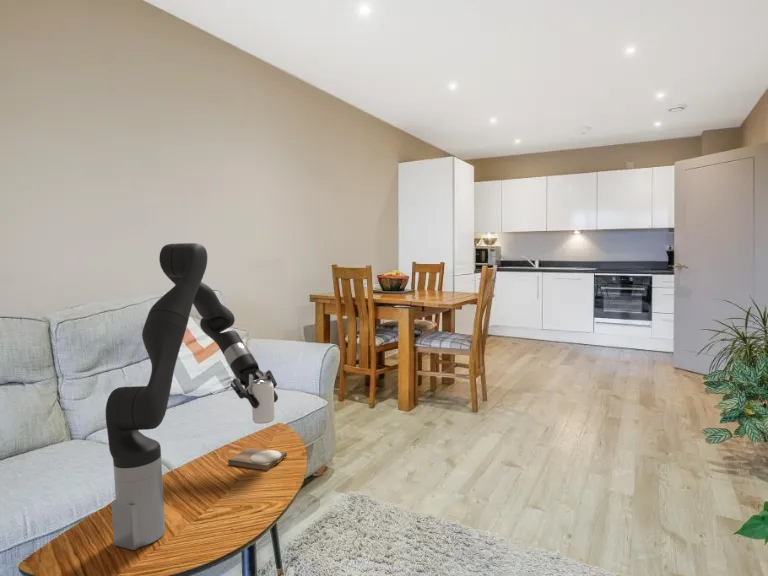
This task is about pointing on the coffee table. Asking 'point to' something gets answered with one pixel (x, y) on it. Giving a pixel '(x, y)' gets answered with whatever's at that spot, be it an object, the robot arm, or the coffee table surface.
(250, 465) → the board
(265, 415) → the can
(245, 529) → the coffee table surface
